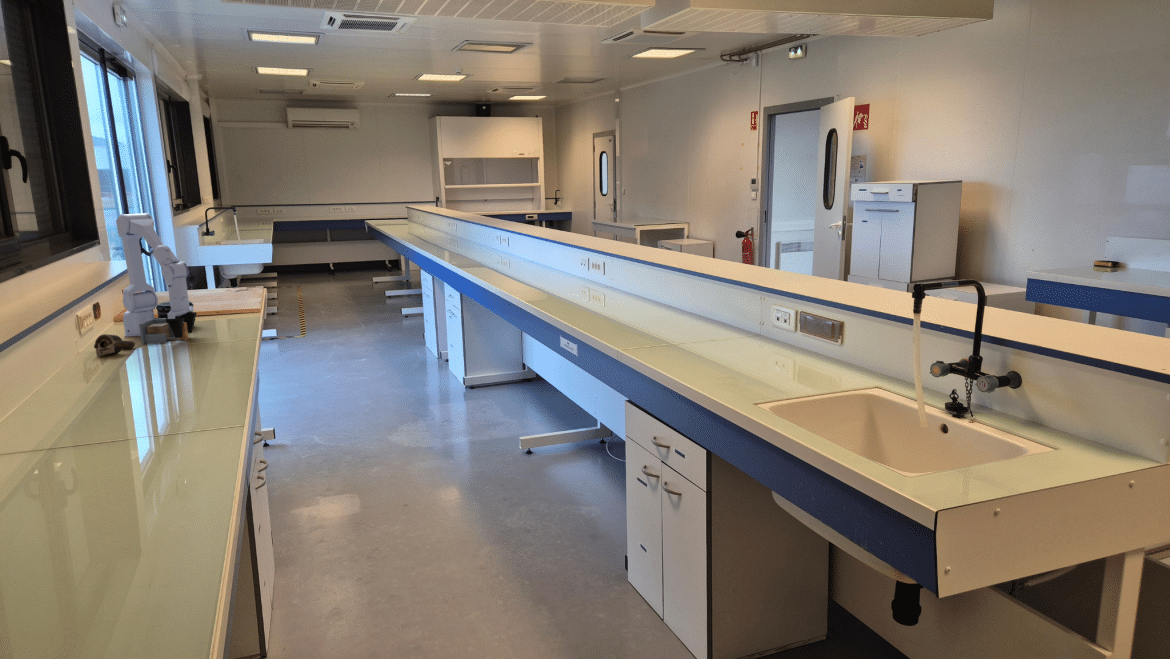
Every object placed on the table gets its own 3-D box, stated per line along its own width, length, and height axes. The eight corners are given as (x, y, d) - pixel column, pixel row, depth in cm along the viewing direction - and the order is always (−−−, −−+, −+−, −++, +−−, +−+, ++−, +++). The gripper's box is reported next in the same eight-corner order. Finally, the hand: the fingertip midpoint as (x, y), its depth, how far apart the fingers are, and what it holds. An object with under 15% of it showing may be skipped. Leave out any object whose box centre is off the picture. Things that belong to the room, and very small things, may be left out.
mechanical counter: (82, 339, 236) (99, 335, 232) (121, 328, 247) (138, 324, 242) (91, 360, 238) (108, 357, 233) (129, 348, 249) (146, 344, 244)
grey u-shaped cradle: (141, 343, 253) (139, 324, 252) (156, 337, 263) (153, 318, 261) (164, 343, 254) (161, 323, 252) (178, 337, 263) (175, 318, 262)
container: (203, 325, 285) (200, 299, 283) (182, 332, 272) (179, 305, 270) (172, 325, 286) (169, 300, 284) (150, 332, 273) (146, 305, 271)
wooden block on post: (148, 342, 256) (146, 325, 254) (156, 338, 260) (153, 322, 259) (184, 340, 256) (181, 324, 255) (190, 337, 261) (188, 321, 260)
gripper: (180, 300, 249) (185, 339, 251) (200, 293, 263) (204, 330, 266) (159, 300, 248) (164, 340, 251) (179, 294, 262) (184, 331, 265)
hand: (183, 335), depth 258 cm, fingers open, 7 cm apart
